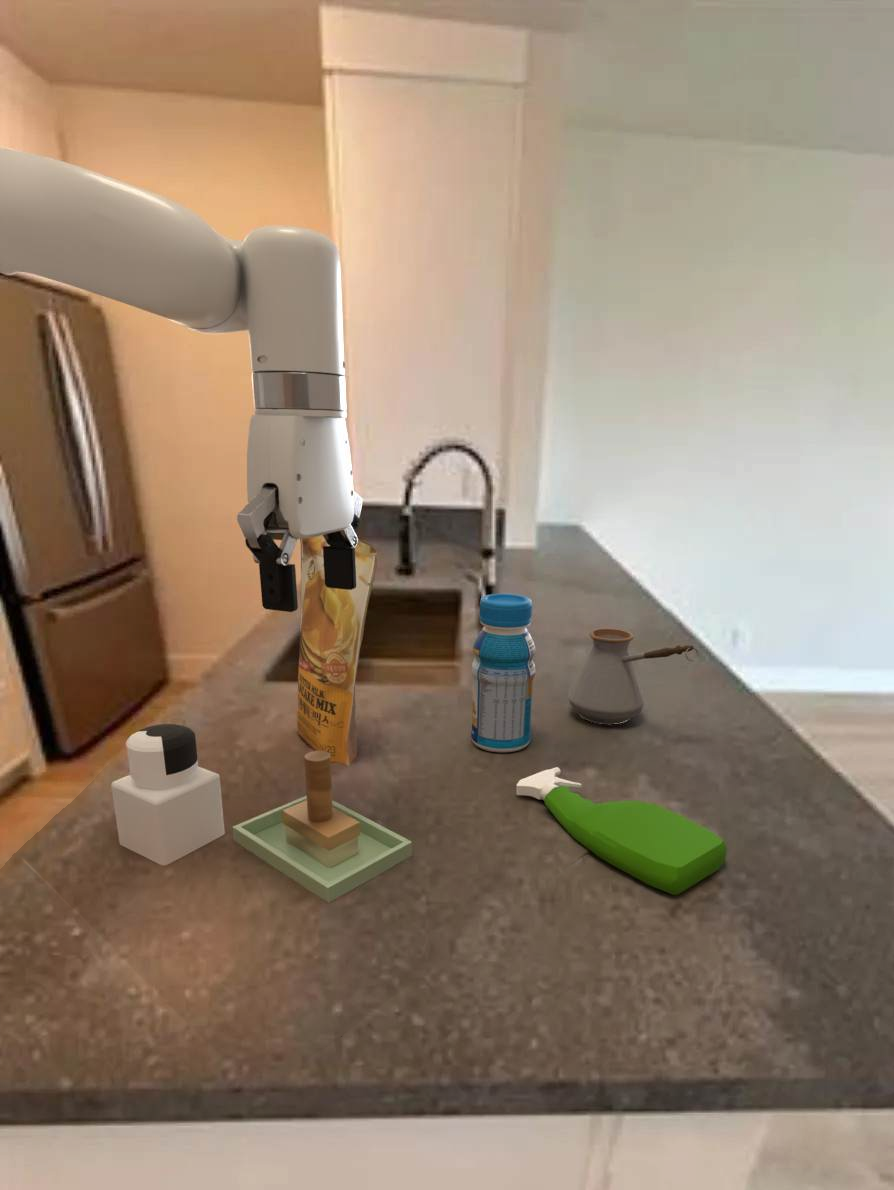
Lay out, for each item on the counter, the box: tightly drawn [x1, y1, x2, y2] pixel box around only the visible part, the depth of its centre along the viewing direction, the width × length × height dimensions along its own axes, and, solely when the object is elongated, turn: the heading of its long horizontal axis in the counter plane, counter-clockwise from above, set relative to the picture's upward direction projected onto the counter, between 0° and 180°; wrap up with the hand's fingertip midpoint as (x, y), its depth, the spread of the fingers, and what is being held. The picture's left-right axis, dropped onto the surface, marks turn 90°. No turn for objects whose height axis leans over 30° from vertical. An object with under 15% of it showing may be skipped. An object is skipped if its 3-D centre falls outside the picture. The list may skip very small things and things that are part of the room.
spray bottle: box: [515, 766, 728, 896], centre depth 78 cm, size 3×11×24 cm
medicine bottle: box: [110, 723, 226, 867], centre depth 71 cm, size 7×7×12 cm
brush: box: [282, 750, 360, 868], centre depth 71 cm, size 7×4×10 cm, turn 51°
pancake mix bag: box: [296, 535, 378, 767], centre depth 92 cm, size 7×19×28 cm, turn 33°
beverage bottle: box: [470, 593, 536, 753], centre depth 96 cm, size 8×8×20 cm
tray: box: [232, 795, 413, 904], centre depth 72 cm, size 15×10×2 cm
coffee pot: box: [567, 628, 699, 724], centre depth 103 cm, size 21×12×15 cm, turn 34°
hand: (312, 598), depth 66 cm, fingers open, 9 cm apart
